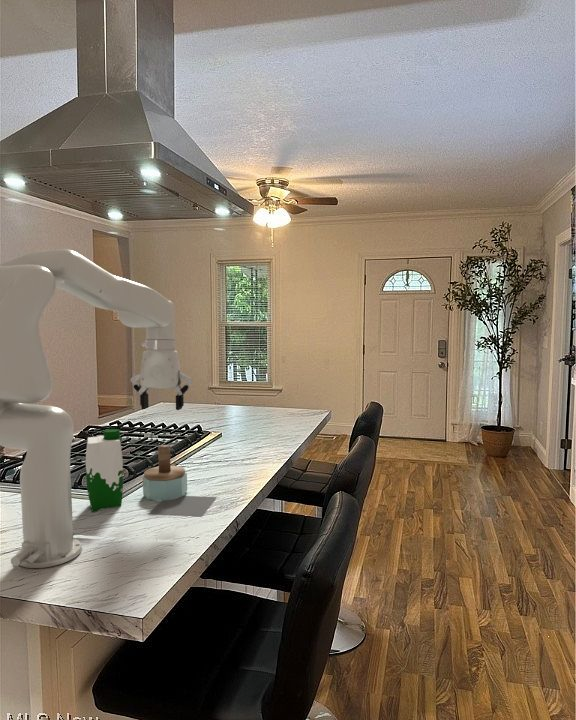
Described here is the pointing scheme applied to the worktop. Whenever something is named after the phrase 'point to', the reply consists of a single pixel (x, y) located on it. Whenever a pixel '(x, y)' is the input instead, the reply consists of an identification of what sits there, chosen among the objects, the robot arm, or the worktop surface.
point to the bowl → (165, 489)
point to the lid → (164, 467)
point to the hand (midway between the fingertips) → (162, 408)
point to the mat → (184, 506)
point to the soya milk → (104, 470)
